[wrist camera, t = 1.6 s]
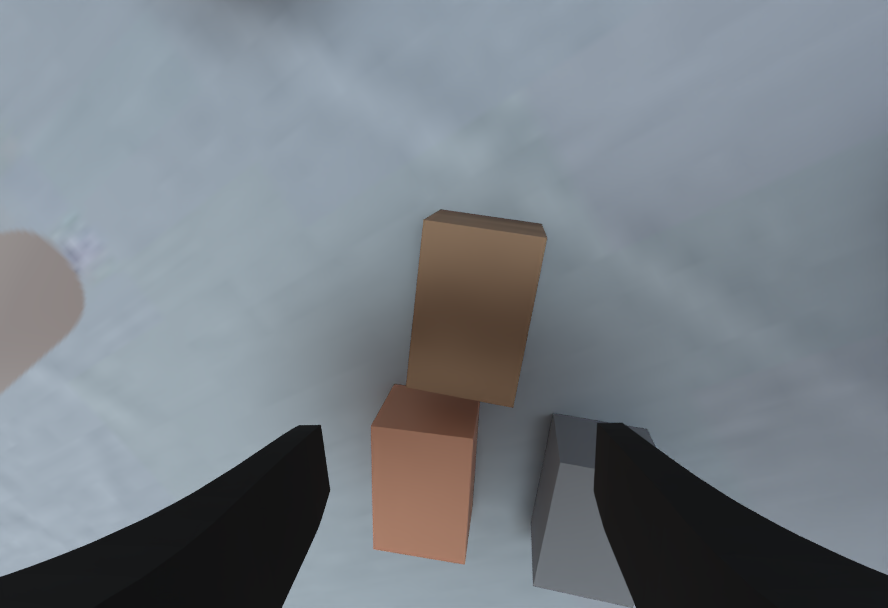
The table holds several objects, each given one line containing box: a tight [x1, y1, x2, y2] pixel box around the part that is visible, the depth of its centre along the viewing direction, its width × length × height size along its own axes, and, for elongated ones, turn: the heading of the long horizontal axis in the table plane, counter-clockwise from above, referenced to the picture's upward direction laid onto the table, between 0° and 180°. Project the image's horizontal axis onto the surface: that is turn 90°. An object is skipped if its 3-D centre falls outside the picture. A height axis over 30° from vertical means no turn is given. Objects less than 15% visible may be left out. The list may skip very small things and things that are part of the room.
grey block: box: [531, 413, 655, 608], centre depth 21 cm, size 7×4×4 cm, turn 175°
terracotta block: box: [371, 384, 480, 564], centre depth 22 cm, size 7×4×4 cm, turn 178°
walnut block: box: [406, 210, 547, 408], centre depth 19 cm, size 7×4×4 cm, turn 173°
